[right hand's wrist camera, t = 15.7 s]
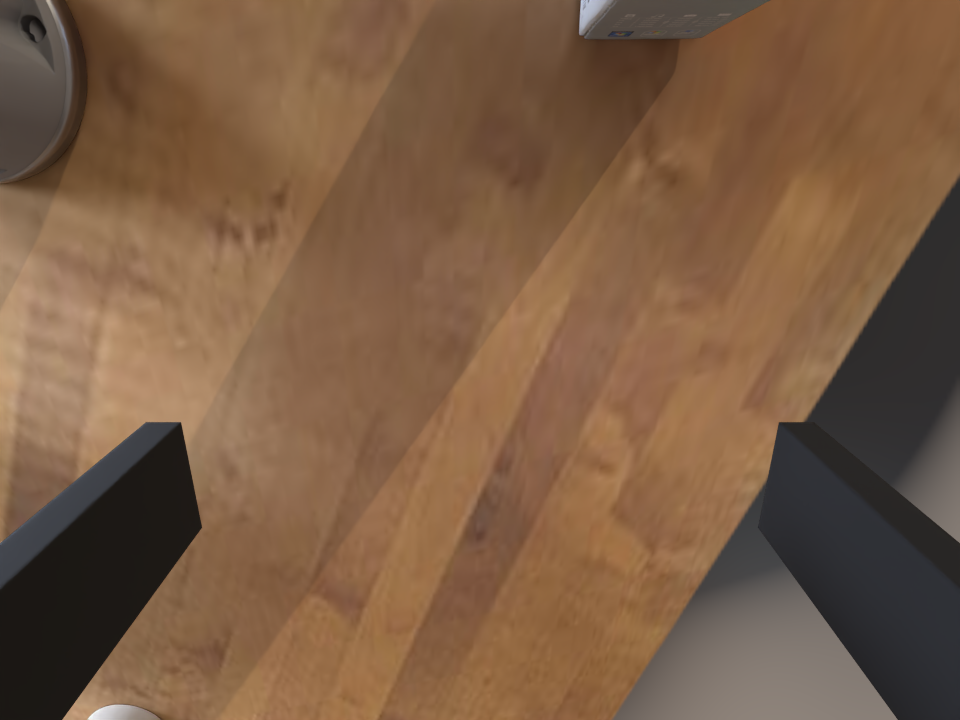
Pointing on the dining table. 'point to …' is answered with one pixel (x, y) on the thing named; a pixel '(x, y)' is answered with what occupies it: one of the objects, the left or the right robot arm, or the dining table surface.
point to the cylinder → (122, 713)
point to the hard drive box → (658, 17)
